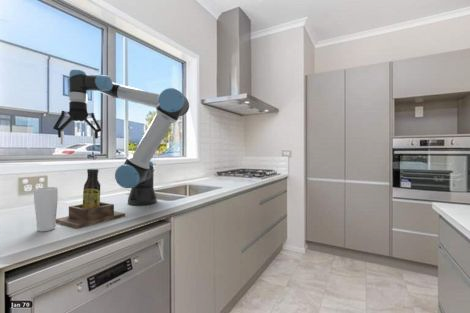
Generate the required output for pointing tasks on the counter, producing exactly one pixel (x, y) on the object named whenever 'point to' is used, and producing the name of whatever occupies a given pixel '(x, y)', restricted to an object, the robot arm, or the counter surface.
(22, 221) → the counter surface
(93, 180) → the sauce bottle
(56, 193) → the drinking glass
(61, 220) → the walnut bottle holder
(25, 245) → the counter surface
